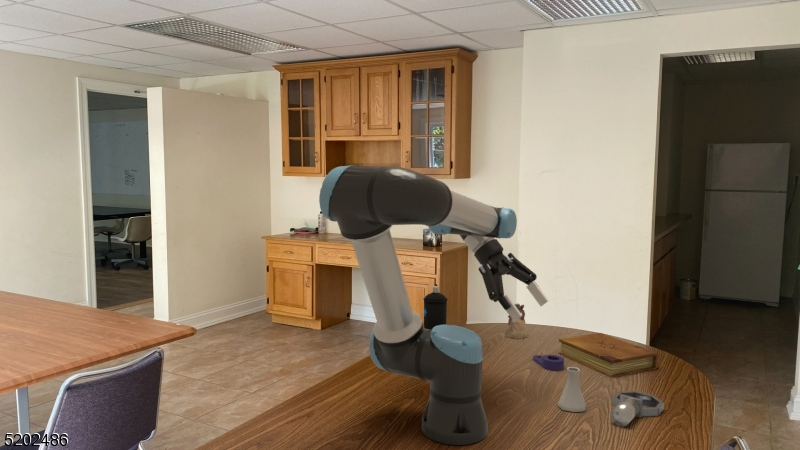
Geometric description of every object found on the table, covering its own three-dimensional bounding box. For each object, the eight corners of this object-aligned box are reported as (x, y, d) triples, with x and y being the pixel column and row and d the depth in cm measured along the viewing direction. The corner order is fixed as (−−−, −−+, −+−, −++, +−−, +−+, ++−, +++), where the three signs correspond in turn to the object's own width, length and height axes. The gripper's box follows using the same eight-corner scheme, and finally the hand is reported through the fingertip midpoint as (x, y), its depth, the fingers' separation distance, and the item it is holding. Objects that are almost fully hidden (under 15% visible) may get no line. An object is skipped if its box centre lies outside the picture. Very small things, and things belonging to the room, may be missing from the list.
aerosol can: (450, 343, 198) (452, 286, 196) (439, 349, 191) (440, 290, 189) (429, 339, 202) (431, 283, 200) (418, 345, 195) (419, 287, 193)
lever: (568, 370, 174) (568, 360, 174) (550, 373, 171) (551, 362, 171) (543, 357, 185) (543, 348, 185) (527, 360, 182) (527, 350, 182)
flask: (583, 402, 150) (585, 364, 149) (589, 413, 143) (591, 374, 142) (554, 400, 151) (556, 363, 150) (559, 412, 143) (561, 373, 142)
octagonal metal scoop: (644, 433, 132) (646, 414, 132) (595, 419, 139) (596, 401, 139) (667, 405, 148) (668, 388, 148) (621, 394, 155) (622, 378, 155)
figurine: (514, 332, 212) (515, 300, 211) (530, 336, 207) (531, 304, 206) (502, 335, 208) (503, 303, 207) (517, 340, 202) (519, 306, 201)
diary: (657, 371, 176) (658, 352, 175) (610, 379, 168) (612, 360, 167) (601, 348, 196) (602, 331, 196) (557, 355, 188) (558, 338, 188)
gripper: (500, 244, 168) (545, 304, 162) (448, 264, 150) (496, 332, 144) (517, 229, 163) (564, 290, 157) (465, 247, 146) (515, 318, 139)
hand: (532, 311), depth 150 cm, fingers open, 13 cm apart
